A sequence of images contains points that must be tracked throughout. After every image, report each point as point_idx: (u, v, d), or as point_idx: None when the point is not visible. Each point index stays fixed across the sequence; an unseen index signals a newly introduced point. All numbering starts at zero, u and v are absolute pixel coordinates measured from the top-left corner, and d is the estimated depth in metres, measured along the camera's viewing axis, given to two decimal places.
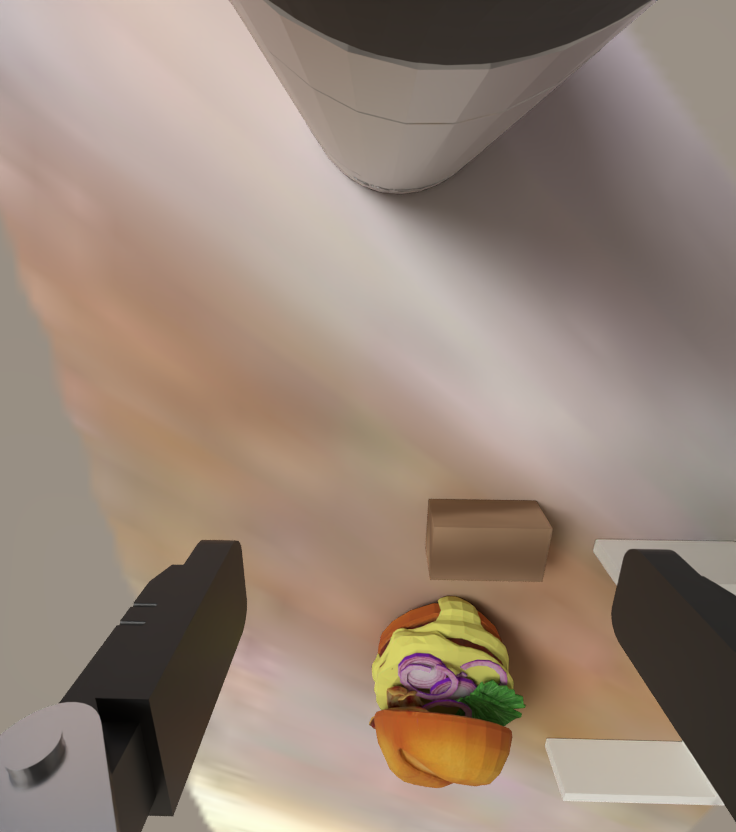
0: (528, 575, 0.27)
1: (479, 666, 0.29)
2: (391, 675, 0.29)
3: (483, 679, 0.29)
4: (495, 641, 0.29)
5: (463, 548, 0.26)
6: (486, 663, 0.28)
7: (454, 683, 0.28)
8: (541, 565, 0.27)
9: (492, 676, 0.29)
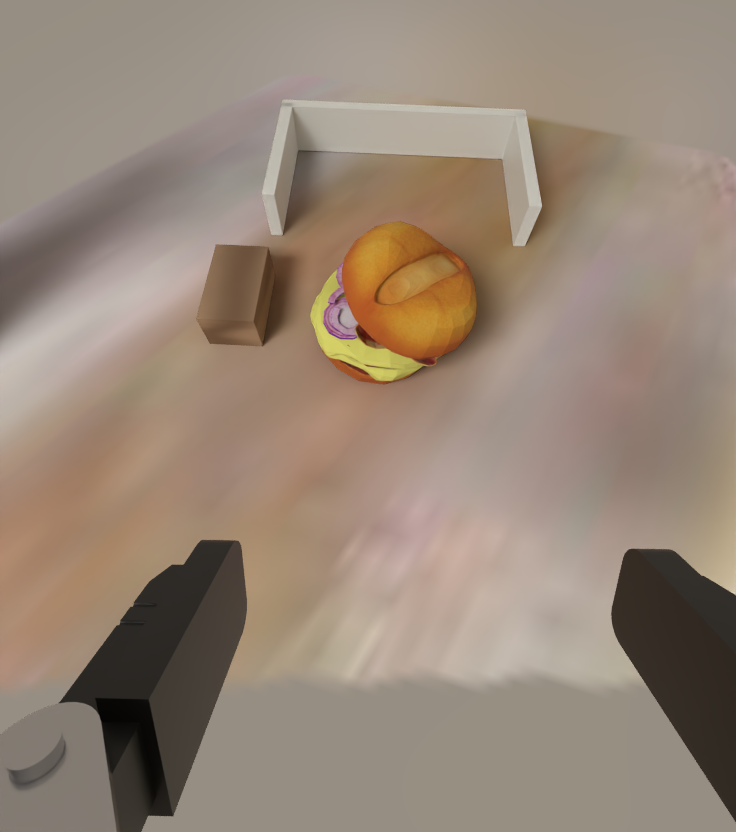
0: (260, 255, 0.33)
1: None
2: (358, 346, 0.28)
3: None
4: None
5: (223, 298, 0.31)
6: (340, 270, 0.31)
7: None
8: (251, 248, 0.33)
9: None
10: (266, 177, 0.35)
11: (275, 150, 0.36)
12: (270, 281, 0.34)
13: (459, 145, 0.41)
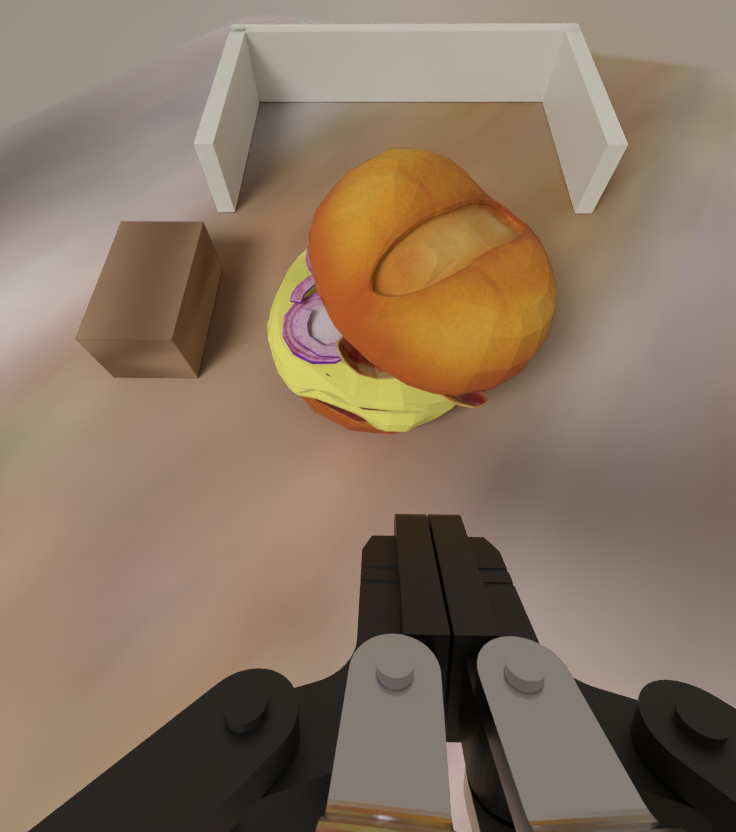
0: (189, 235, 0.21)
1: None
2: (345, 375, 0.16)
3: None
4: None
5: (124, 303, 0.19)
6: None
7: None
8: (176, 225, 0.21)
9: None
10: (202, 121, 0.23)
11: (217, 86, 0.24)
12: (211, 276, 0.22)
13: (483, 83, 0.30)
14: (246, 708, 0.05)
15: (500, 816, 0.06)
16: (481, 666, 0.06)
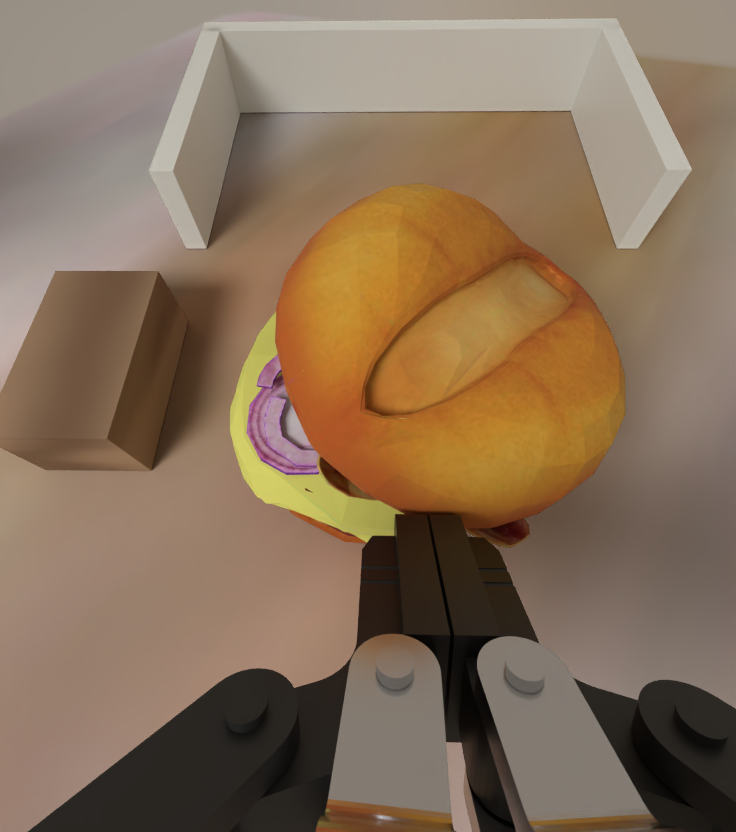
0: (140, 289, 0.16)
1: None
2: (331, 491, 0.12)
3: None
4: None
5: (49, 386, 0.14)
6: None
7: None
8: (124, 276, 0.17)
9: None
10: (162, 142, 0.19)
11: (183, 97, 0.20)
12: (172, 336, 0.18)
13: (502, 89, 0.25)
14: (246, 708, 0.05)
15: (500, 816, 0.06)
16: (481, 666, 0.06)
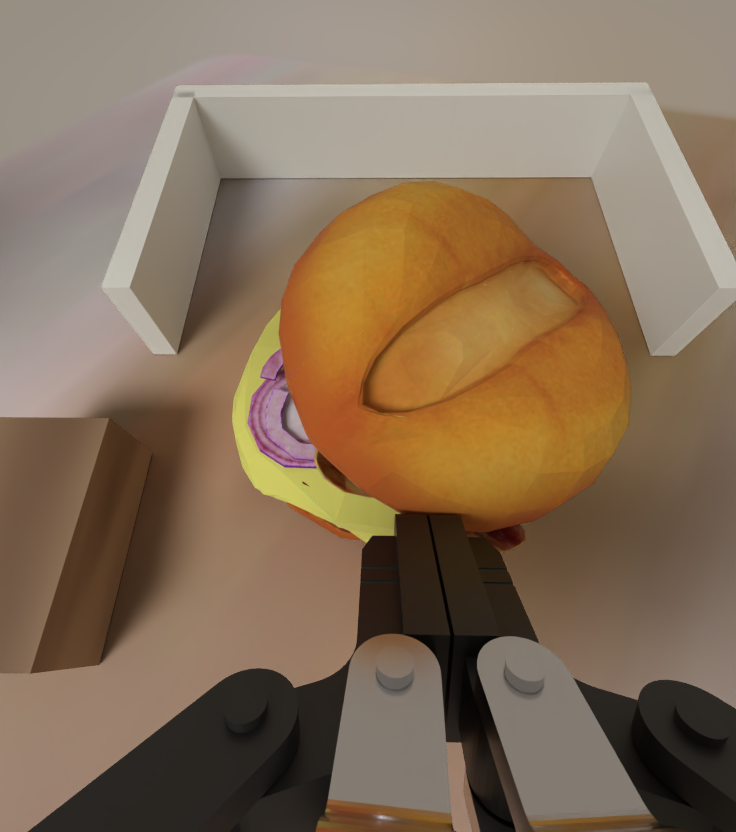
0: (85, 445, 0.13)
1: None
2: (328, 486, 0.12)
3: None
4: None
5: None
6: None
7: None
8: (67, 424, 0.14)
9: None
10: (119, 246, 0.16)
11: (147, 185, 0.17)
12: (129, 484, 0.15)
13: (515, 156, 0.22)
14: (246, 707, 0.05)
15: (500, 816, 0.06)
16: (481, 666, 0.06)
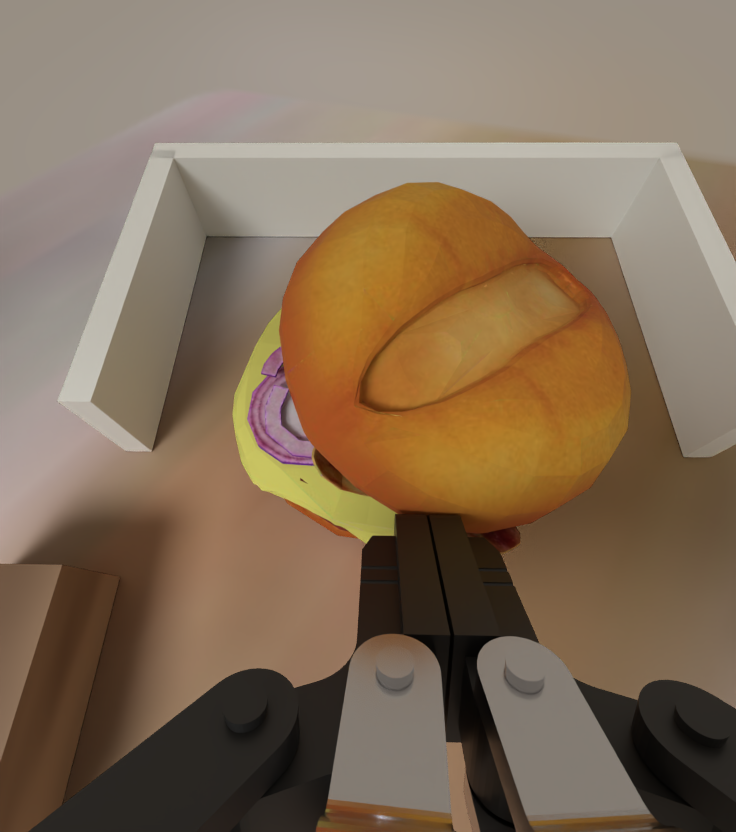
0: (32, 601, 0.11)
1: None
2: (325, 484, 0.12)
3: None
4: None
5: None
6: None
7: None
8: (13, 573, 0.12)
9: None
10: (81, 347, 0.14)
11: (116, 267, 0.15)
12: (89, 627, 0.13)
13: (528, 217, 0.20)
14: (245, 708, 0.05)
15: (500, 816, 0.06)
16: (481, 666, 0.06)
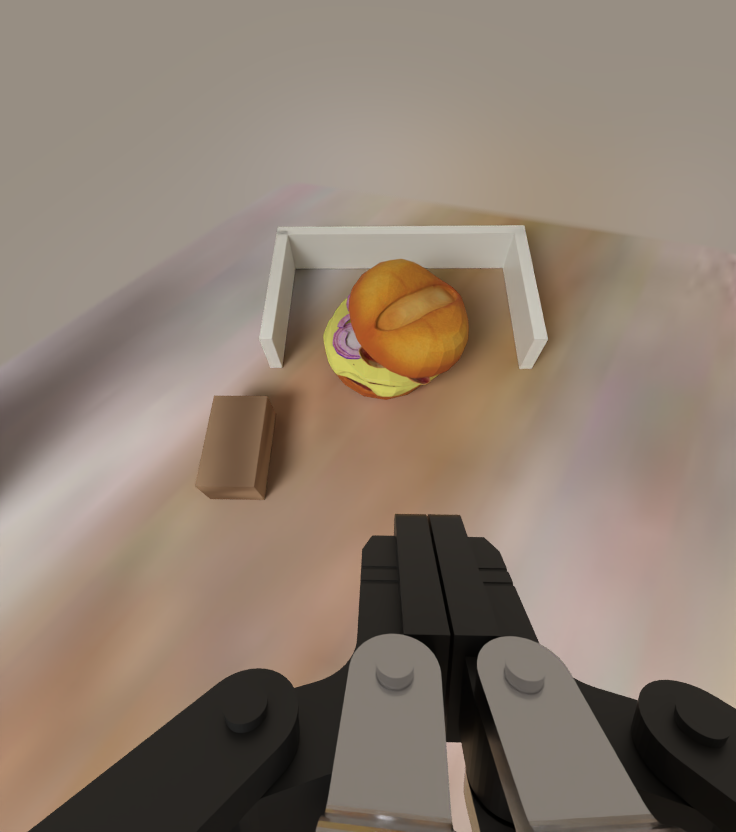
0: (259, 407, 0.32)
1: None
2: (362, 365, 0.32)
3: None
4: None
5: (222, 460, 0.30)
6: None
7: None
8: (250, 398, 0.32)
9: None
10: (263, 318, 0.34)
11: (271, 286, 0.36)
12: (270, 426, 0.33)
13: (458, 258, 0.41)
14: (245, 707, 0.05)
15: (500, 816, 0.06)
16: (481, 666, 0.06)
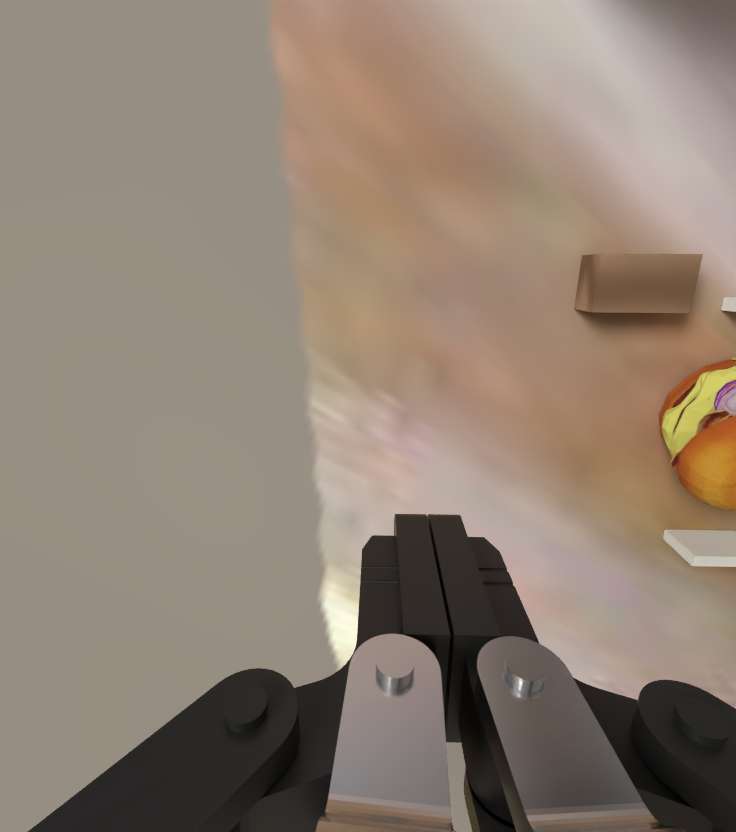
0: (677, 306, 0.31)
1: None
2: (704, 407, 0.33)
3: None
4: None
5: (624, 276, 0.31)
6: None
7: None
8: (689, 295, 0.31)
9: None
10: None
11: None
12: None
13: None
14: (246, 708, 0.05)
15: (500, 816, 0.06)
16: (481, 666, 0.06)
